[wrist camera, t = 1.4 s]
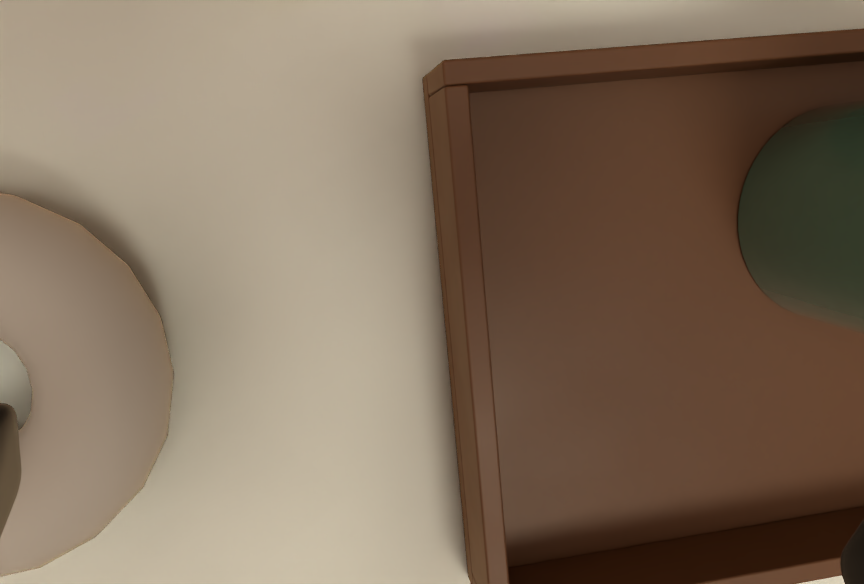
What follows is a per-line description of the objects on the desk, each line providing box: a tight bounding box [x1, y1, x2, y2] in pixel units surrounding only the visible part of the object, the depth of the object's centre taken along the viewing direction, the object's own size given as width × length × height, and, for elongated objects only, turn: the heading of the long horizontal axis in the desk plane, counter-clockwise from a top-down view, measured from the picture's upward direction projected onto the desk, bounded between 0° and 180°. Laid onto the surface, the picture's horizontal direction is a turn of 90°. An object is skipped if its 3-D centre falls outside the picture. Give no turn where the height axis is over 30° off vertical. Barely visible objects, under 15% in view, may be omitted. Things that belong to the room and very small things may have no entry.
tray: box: [423, 29, 864, 584], centre depth 22 cm, size 15×17×3 cm
